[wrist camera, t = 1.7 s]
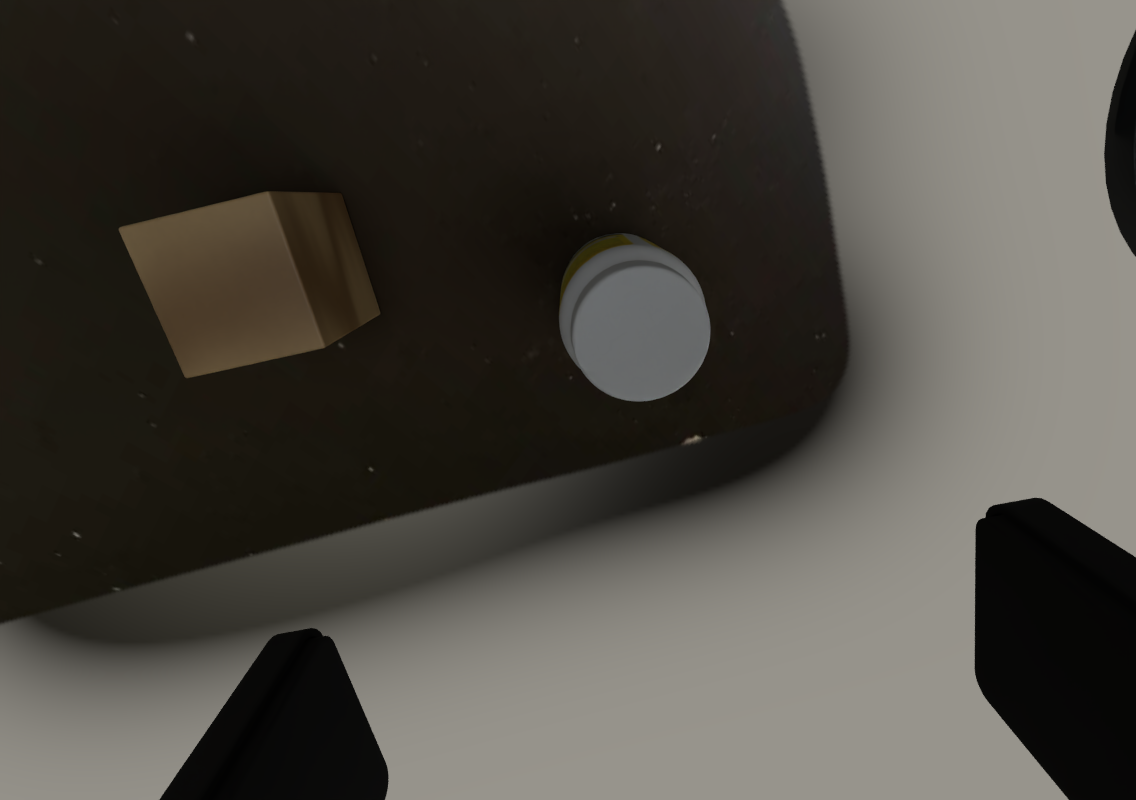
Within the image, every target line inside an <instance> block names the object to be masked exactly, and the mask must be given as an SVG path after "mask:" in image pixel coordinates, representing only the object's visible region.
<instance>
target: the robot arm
mask: <svg viewBox="0 0 1136 800" xmlns="http://www.w3.org/2000/svg"><path fill="white" fill-rule="evenodd" d="M975 559H976V561H975V567H976V568H975V675H976V679H977V682H978V685H979V687H980V689H981V691H982V693H983V695H984V696H985V698H986V699H987V701H988V702H989V703H990V704H991V706H992V707H993V708H994V709H995V710H996V712H997V713H998V714H999V715H1000V716H1001V718H1002V719H1003V720H1004V721H1005V723H1006V724H1007V725H1008V726H1009V728H1010V729H1011V730H1012V731H1013V732H1014V734H1015V735H1016V736H1017V737H1018V738H1019V740H1020V741H1021V742H1022V743H1023V744H1024V746H1025V747H1026V748H1027V749H1028V750H1029V752H1030V753H1031V754H1032V755H1033V756H1034V758H1035V759H1036V760H1037V762H1038V763H1039V764H1040V765H1041V766H1042V767H1043V769H1044V770H1045V771H1046V772H1047V774H1048V775H1049V776H1050V777H1051V779H1052V780H1053V781H1054V782H1055V783H1056V785H1057V786H1058V787H1059V788H1060V789H1061V791H1062V792H1063V793H1064V794H1065V796H1067V798H1068V799H1069V800H1136V557H1134V556H1133V555H1131V554H1130V553H1128V552H1126V551H1125V550H1123V549H1122V548H1120V547H1119V546H1117V545H1116V544H1114V543H1112V542H1111V541H1109V540H1108V539H1106V538H1104V537H1103V536H1101V535H1100V534H1098V533H1097V532H1095V531H1093V530H1092V529H1090V528H1089V527H1087V526H1086V525H1084V524H1083V523H1081V522H1080V521H1078V520H1076V519H1075V518H1073V517H1072V516H1070V515H1069V514H1067V513H1065V512H1064V511H1062V510H1061V509H1059V508H1057V507H1056V506H1055V505H1053V504H1051V503H1050V502H1048V501H1046V500H1044V499H1042V498H1031V499H1026V500H1020V501H1016V502H1009V503H1004V504H998V505H993V506H992V507H990V508H989V509H988V511H987V512H986V518H982V519H980V520H979V521H978V522H977V524H976V558H975ZM387 789H388V769H387V765H386V762H385V760H384V758H383V755H382V753H381V751H380V748H379V746H378V744H377V741H376V739H375V737H374V734H373V732H372V730H371V727H370V725H369V723H368V721H367V718H366V716H365V713H364V711H363V709H362V706H361V704H360V702H359V699H358V697H357V695H356V693H355V690H354V688H353V685H352V683H351V681H350V679H349V676H348V674H347V671H346V669H345V667H344V664H343V662H342V660H341V658H340V655H339V653H338V650H337V648H336V646H335V644H334V642H333V640H332V639H331V638H330V637H328V636H323V635H322V634H321V632H320V631H318V630H317V629H313V628H310V629H304V630H299V631H294V632H288V633H282V634H277V635H275V636H273V637H272V638H271V639H270V640H269V641H268V643H267V644H266V645H265V647H264V648H263V650H262V651H261V653H260V654H259V656H258V657H257V659H256V660H255V661H254V663H253V664H252V666H251V667H250V669H249V670H248V672H247V673H246V674H245V676H244V677H243V679H242V680H241V682H240V683H239V685H238V686H237V688H236V689H235V690H234V692H233V693H232V695H231V696H230V698H229V699H228V701H227V702H226V704H225V705H224V706H223V708H222V709H221V711H220V712H219V714H218V715H217V717H216V718H215V720H214V721H213V722H212V724H211V725H210V727H209V728H208V730H207V731H206V733H205V734H204V736H203V737H202V738H201V740H200V741H199V743H198V744H197V746H196V747H195V749H194V750H193V752H192V753H191V754H190V756H189V757H188V759H187V760H186V762H185V763H184V765H183V766H182V768H181V769H180V770H179V772H178V773H177V775H176V776H175V778H174V779H173V781H172V782H171V784H170V785H169V787H168V788H167V790H166V791H165V792H164V794H163V795H162V797H161V798H160V800H385V797H386V794H387Z"/></svg>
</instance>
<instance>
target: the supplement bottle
mask: <svg viewBox="0 0 1136 800" xmlns="http://www.w3.org/2000/svg"><path fill="white" fill-rule="evenodd" d="M559 326H560V333H561V337H562V340H563V343H564V346H565V348H566V350H567V352H568V354H569V355H570V357H571V358H572V360H573V361H574V362H575V364H576V365H577V366H578V367H579V368H580V369H581V370H582V372H583V373H584V375H585V376H586V377H587V378H588V379H589V381H590V382H591V383H592V384H594V385H595V386H596V387H597V388H598V389H600V390H602V391H603V392H605V393H607V394H609V395H610V396H613V397H616V398H619V399H623V400H628V401H650V400H655V399H659V398H662V397H665V396H667V395H669V394H671V393H673V392H675V391H677V390H678V389H679V388H681V387H682V386H684V385H685V384H686V383H687V382H688V381H689V380H690V379H691V378H692V377H693V376H694V375H695V373H696V372H697V371H698V369H699V368H700V366H701V364H702V363H703V360H704V358H705V356H706V353H707V350H708V347H709V341H710V320H709V315H708V311H707V308H706V305H705V299H704V296H703V292H702V290H701V287H700V285H699V283H698V281H697V279H696V278H695V276H694V275H693V273H692V272H691V270H690V269H689V268H688V267H687V266H686V265H685V264H684V263H683V262H682V261H681V260H680V259H678V258H677V257H676V256H674V255H673V254H671V253H670V252H668V251H666V250H664V249H662V248H661V247H659V246H657V245H656V244H654V243H652V242H650V241H649V240H647V239H645V238H642V237H640V236H636V235H632V234H625V233H616V234H609V235H604V236H601V237H598V238H595V239H593V240H592V241H590V242H588V243H587V244H585V245H584V246H583V247H582V248H580V249H579V250H578V251H577V252H576V254H575V255H574V256H573V257H572V259H571V260H570V262H569V264H568V266H567V268H566V270H565V272H564V276H563V279H562V284H561V294H560V308H559Z"/></svg>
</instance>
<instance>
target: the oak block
mask: <svg viewBox="0 0 1136 800" xmlns="http://www.w3.org/2000/svg"><path fill="white" fill-rule="evenodd" d="M119 232H120V234H121V236H122V239H123V241H124V243H125V245H126V247H127V250H128V252H129V254H130V256H131V259H132V261H133V263H134V265H135V267H136V270H137V272H138V274H139V276H140V278H141V281H142V283H143V285H144V287H145V290H146V292H147V294H148V296H149V298H150V301H151V303H152V305H153V307H154V310H155V312H156V314H157V316H158V318H159V321H160V323H161V325H162V327H163V329H164V332H165V334H166V336H167V338H168V341H169V343H170V345H171V347H172V349H173V352H174V354H175V356H176V358H177V360H178V363H179V365H180V367H181V369H182V372H183V374H184V376H185V377H186V378H191V377H196V376H200V375H205V374H209V373H214V372H218V371H223V370H227V369H232V368H237V367H241V366H246V365H250V364H255V363H259V362H264V361H268V360H273V359H277V358H282V357H286V356H291V355H295V354H300V353H304V352H309V351H313V350H318V349H322V348H325V347H327V346H328V345H330V344H332V343H333V342H335V341H337V340H338V339H340V338H342V337H343V336H345V335H347V334H348V333H350V332H352V331H353V330H355V329H357V328H358V327H360V326H362V325H363V324H365V323H367V322H368V321H370V320H371V319H373V318H375V317H376V316H378V315H380V310H379V307H378V303H377V300H376V297H375V294H374V291H373V288H372V285H371V282H370V279H369V276H368V273H367V270H366V267H365V264H364V261H363V258H362V254H361V251H360V248H359V245H358V242H357V239H356V236H355V233H354V230H353V227H352V224H351V221H350V218H349V215H348V212H347V209H346V206H345V202H344V199H343V196H342V194H341V193H327V192H282V191H265V192H261V193H257V194H253V195H249V196H245V197H241V198H237V199H233V200H229V201H225V202H221V203H216V204H212V205H208V206H204V207H200V208H196V209H192V210H188V211H184V212H180V213H176V214H172V215H167V216H163V217H159V218H155V219H151V220H147V221H143V222H139V223H135V224H131V225H127V226H123V227H120V228H119Z"/></svg>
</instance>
